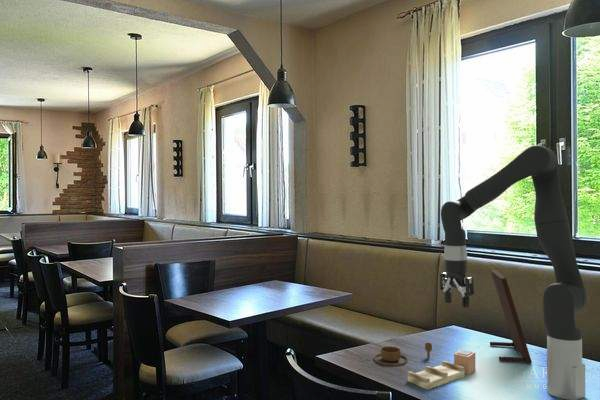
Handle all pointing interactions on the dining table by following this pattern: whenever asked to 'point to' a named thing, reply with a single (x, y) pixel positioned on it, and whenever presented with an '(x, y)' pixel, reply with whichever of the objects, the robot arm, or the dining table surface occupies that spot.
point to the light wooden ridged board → (436, 375)
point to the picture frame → (510, 320)
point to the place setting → (396, 355)
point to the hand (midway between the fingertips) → (456, 305)
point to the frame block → (465, 360)
